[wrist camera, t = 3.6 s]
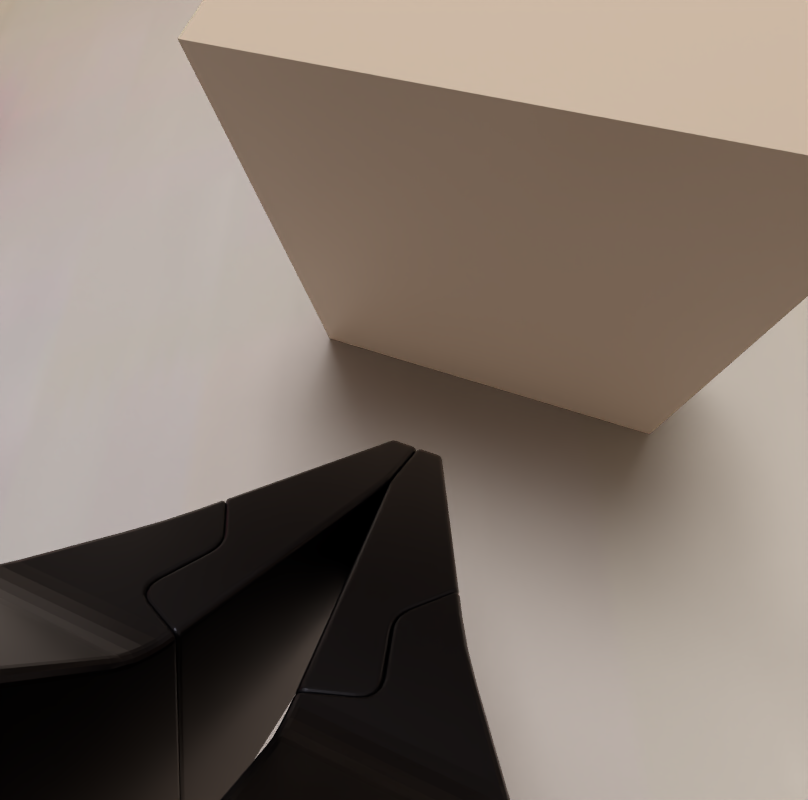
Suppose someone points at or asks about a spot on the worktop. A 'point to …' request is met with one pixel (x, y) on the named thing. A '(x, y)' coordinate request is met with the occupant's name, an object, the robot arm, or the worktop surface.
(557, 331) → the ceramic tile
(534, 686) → the worktop surface
